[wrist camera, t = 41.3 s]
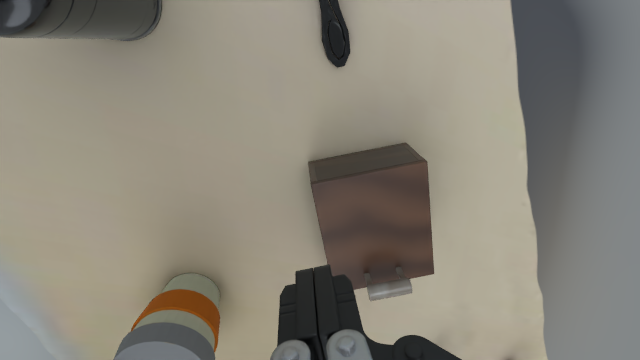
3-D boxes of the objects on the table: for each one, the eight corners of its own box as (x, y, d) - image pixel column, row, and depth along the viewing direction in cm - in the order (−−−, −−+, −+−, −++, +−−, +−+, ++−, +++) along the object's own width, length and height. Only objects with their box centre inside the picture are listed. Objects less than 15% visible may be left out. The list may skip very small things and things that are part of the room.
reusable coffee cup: (245, 302, 58) (230, 384, 44) (186, 333, 60) (154, 421, 46) (199, 251, 54) (166, 324, 40) (137, 286, 55) (85, 368, 41)
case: (414, 237, 56) (432, 266, 48) (327, 254, 56) (332, 286, 48) (405, 142, 49) (425, 159, 42) (308, 161, 49) (310, 182, 42)
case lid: (432, 271, 49) (447, 296, 44) (333, 290, 49) (338, 318, 44) (425, 159, 42) (442, 175, 37) (310, 182, 42) (312, 201, 37)
